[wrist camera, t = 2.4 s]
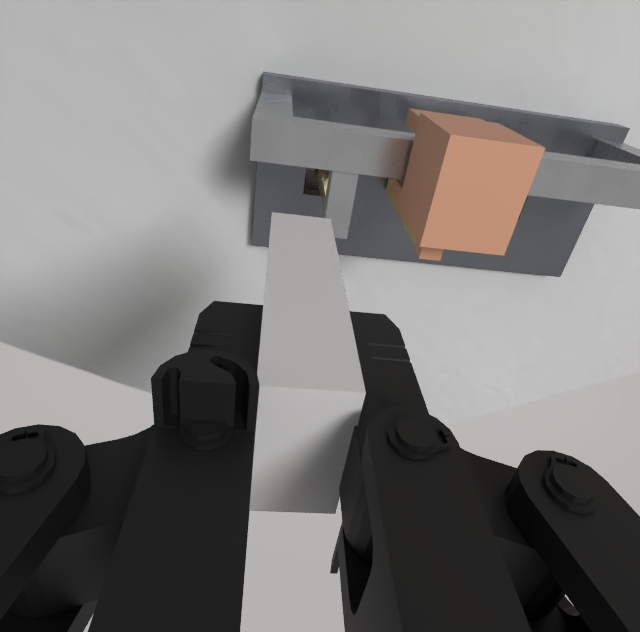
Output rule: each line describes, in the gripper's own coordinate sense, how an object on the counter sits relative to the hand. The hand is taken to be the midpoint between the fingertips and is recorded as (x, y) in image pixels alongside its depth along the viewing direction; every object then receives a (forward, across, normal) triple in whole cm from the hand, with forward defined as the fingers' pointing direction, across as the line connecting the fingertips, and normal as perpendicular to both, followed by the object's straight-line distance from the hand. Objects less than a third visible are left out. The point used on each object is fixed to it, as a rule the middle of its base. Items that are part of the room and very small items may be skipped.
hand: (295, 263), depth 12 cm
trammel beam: (+24, +11, -2) cm, 26 cm away
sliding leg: (+22, +8, -1) cm, 24 cm away
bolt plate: (+24, +11, -4) cm, 27 cm away
